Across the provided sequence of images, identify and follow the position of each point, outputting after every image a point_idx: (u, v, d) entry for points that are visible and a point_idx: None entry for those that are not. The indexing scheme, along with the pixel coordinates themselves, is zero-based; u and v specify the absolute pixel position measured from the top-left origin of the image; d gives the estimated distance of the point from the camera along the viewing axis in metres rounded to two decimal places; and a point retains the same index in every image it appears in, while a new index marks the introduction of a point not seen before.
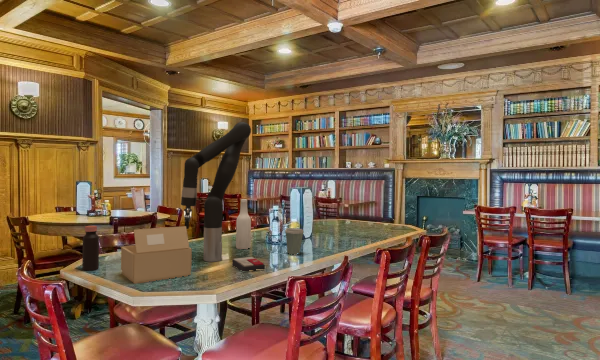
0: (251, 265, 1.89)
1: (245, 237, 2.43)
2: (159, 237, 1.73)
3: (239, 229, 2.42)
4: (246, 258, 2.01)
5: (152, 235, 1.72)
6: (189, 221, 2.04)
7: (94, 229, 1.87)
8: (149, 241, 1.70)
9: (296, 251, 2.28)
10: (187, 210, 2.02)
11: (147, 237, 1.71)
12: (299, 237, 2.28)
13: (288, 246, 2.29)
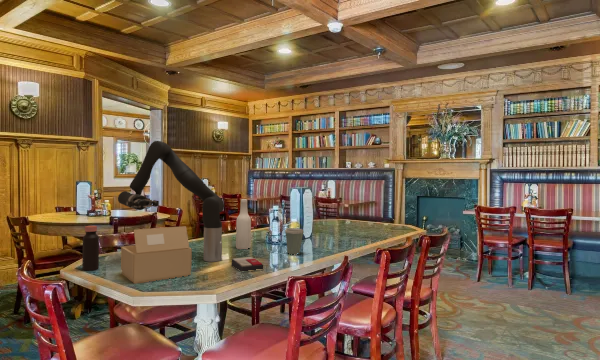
0: (249, 265, 1.89)
1: (245, 237, 2.43)
2: (159, 237, 1.73)
3: (239, 229, 2.42)
4: (245, 258, 2.01)
5: (152, 235, 1.72)
6: (134, 201, 1.91)
7: (94, 229, 1.87)
8: (149, 241, 1.70)
9: (296, 251, 2.28)
10: (126, 203, 1.94)
11: (147, 237, 1.71)
12: (299, 237, 2.28)
13: (288, 246, 2.29)
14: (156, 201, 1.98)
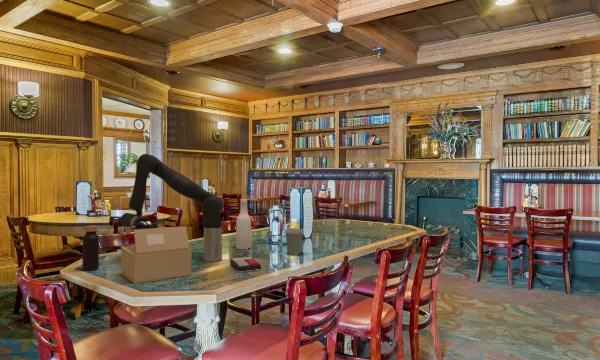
0: (247, 265, 1.89)
1: (245, 237, 2.43)
2: (159, 237, 1.73)
3: (239, 229, 2.42)
4: (244, 258, 2.01)
5: (152, 235, 1.72)
6: (147, 224, 1.89)
7: (94, 229, 1.87)
8: (149, 241, 1.70)
9: (296, 251, 2.28)
10: (133, 227, 1.89)
11: (147, 237, 1.71)
12: (299, 237, 2.28)
13: (288, 246, 2.29)
14: (152, 224, 1.92)
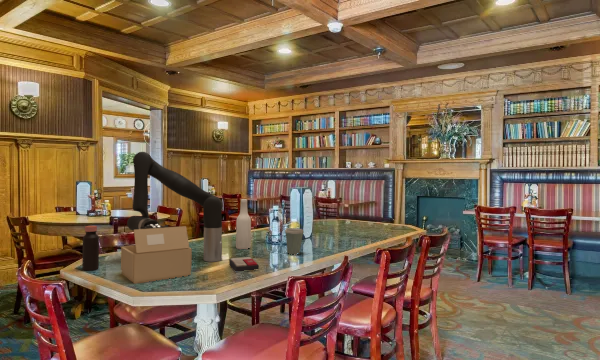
0: (244, 265, 1.89)
1: (245, 237, 2.43)
2: (159, 237, 1.73)
3: (239, 229, 2.42)
4: (243, 258, 2.01)
5: (152, 235, 1.72)
6: (156, 227, 1.78)
7: (94, 229, 1.87)
8: (149, 241, 1.70)
9: (296, 251, 2.28)
10: None
11: (147, 237, 1.71)
12: (299, 237, 2.28)
13: (288, 246, 2.29)
14: (161, 227, 1.81)
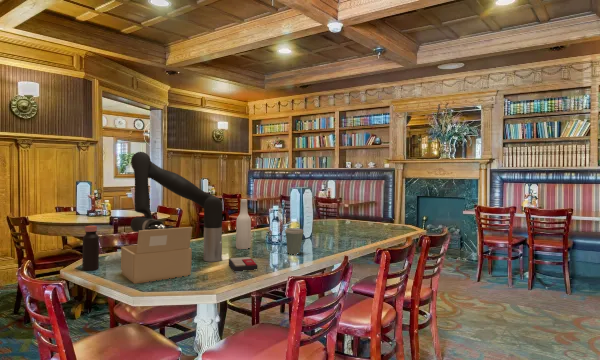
0: (243, 265, 1.89)
1: (245, 237, 2.43)
2: (162, 238, 1.70)
3: (239, 229, 2.42)
4: (242, 258, 2.01)
5: (156, 236, 1.68)
6: (161, 228, 1.73)
7: (94, 229, 1.87)
8: (152, 242, 1.68)
9: (296, 251, 2.28)
10: None
11: (151, 238, 1.67)
12: (299, 237, 2.28)
13: (288, 246, 2.29)
14: (166, 227, 1.76)
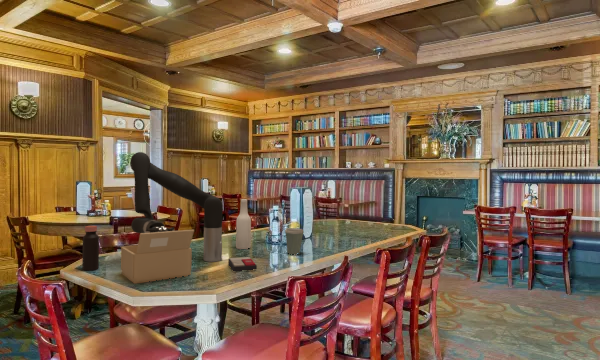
0: (242, 265, 1.89)
1: (245, 237, 2.43)
2: (163, 240, 1.69)
3: (239, 229, 2.42)
4: (242, 258, 2.01)
5: (157, 239, 1.67)
6: (162, 230, 1.72)
7: (94, 229, 1.87)
8: (152, 244, 1.67)
9: (296, 251, 2.28)
10: (146, 232, 1.72)
11: (152, 240, 1.66)
12: (299, 237, 2.28)
13: (288, 246, 2.29)
14: (167, 229, 1.74)
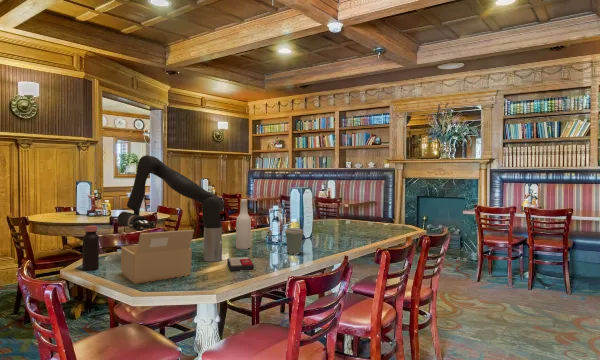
0: (239, 265, 1.89)
1: (245, 237, 2.43)
2: (163, 240, 1.69)
3: (239, 229, 2.42)
4: (241, 258, 2.01)
5: (157, 239, 1.67)
6: (144, 223, 1.93)
7: (94, 229, 1.87)
8: (152, 244, 1.67)
9: (296, 251, 2.28)
10: (130, 225, 1.93)
11: (152, 240, 1.66)
12: (299, 237, 2.28)
13: (288, 246, 2.29)
14: (148, 222, 1.95)
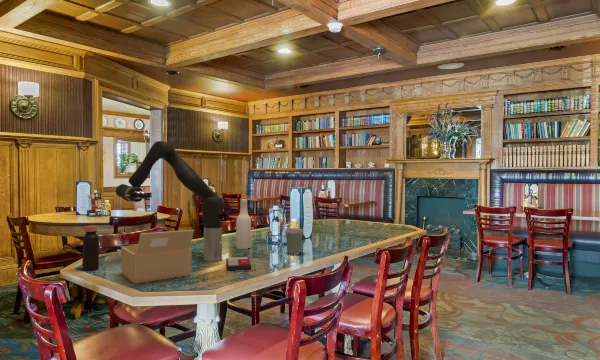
0: (236, 265, 1.89)
1: (245, 237, 2.43)
2: (163, 240, 1.69)
3: (239, 229, 2.42)
4: (239, 258, 2.01)
5: (157, 239, 1.67)
6: (140, 193, 1.98)
7: (94, 229, 1.87)
8: (152, 244, 1.67)
9: (296, 251, 2.28)
10: (127, 195, 1.98)
11: (152, 240, 1.66)
12: (299, 237, 2.28)
13: (288, 246, 2.29)
14: (145, 193, 2.00)
